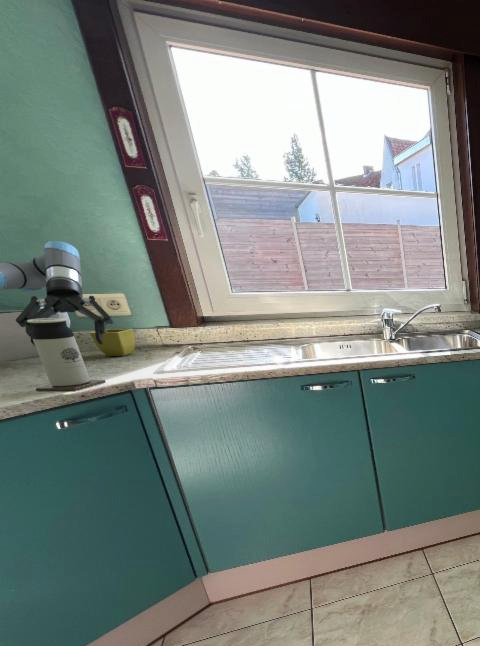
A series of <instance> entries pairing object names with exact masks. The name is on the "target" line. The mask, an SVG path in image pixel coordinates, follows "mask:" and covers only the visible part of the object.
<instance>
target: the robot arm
mask: <svg viewBox="0 0 480 646" xmlns="http://www.w3.org/2000/svg"><path fill="white" fill-rule="evenodd" d="M43 247H44V248H43V253H42V254H39V255H37V256H35V257H34V258H32V259H29V260H27V261H13V262H12V261H11V262H10V261H9V262H5V261H4V262H1V261H0V291H3V290H4V291H5V290H6V291H7V290H19V291H23V292H25V293H34V292H36V291H40V290H44V289H45V290H46V291H45V292H46V297H45V298H38V297H37V296H34V295H33V296H31V297H30V301H29V303H28V304H27V305H26V307H25V308H24V309H23V310H22V311H21V313H20V314H19V315H18V316H17V317H16V319H15V322H16V323H17V325H18V326H19V327H21V328H25V333H26V334H27V336H28V337H29V338H30V343H31V344H32V345H33V346H34V347H35V348H36V346H35V344H34V341H33V339H32V336H31V334H30V332H31V329H32V327H31V325H30V324H29V322H27V320H31V319H40V318H49V317H50V316H51V315H55V314H56V313H58V312H60V313H65V312H67V313H76V312H78V313H80V314H82V315H84V316H86V317H87V318H89V319H90V320H92V321H93V322H94V323H93V324H94V332H95V335H96V340H97V341H98V342H99V344H103V339H102V334H103V333H106V329H107V325H113V324H114V323H115V322H114V320H113V319H112V317H111V316H110V314H109V313H107V311H106V310H104V308H103V307H102V306H100V304H99V302H98V300H97V299H96V297H95V296H94V295H89V296H88V297H84V296H83V294H84V293H83V285H82V271H81V270H82V268H81V261H82V259H81V257H80V253H79V251H78V249H77V248H76V247H75V246H74V245H71V244H70V243H67V242H65V241H60V240H50V241H47V242H46V243H45V244H44V246H43ZM86 304H88V305H89V306H91V307H93V309H94V310H95V311H96V312H97V313H98V314H99V315H100V316H99V315H97V313H95V312H93V311H91V310H90V309H88V308H87V307H85V305H86ZM40 307H44V308H42V309H41V310H40V311H39V309H40ZM52 308H53V309H52Z"/></svg>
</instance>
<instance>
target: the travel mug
mask: <svg viewBox="0 0 480 646" xmlns="http://www.w3.org/2000/svg"><path fill="white" fill-rule="evenodd" d="M66 320H67V319H66V318H40V319H31V320H27V322H29V324H30V325H31V327H32V329H31V332H30V334H31V336H32V339H33V341H34V344H35V346H36V347H35V346H34V347H35V348H36V351H37V353H38V356H39V358H40V361H41V364H42V366H43V369H44V371H45V373H46V376H47V378H48V381H49V383H50V384H51V385H53V386H57V387H64V386H75V385H81V384H85V383H87V382H89V381H90V380H91V379H90V375H89V372H88V370H87V367H86V364H85V362H84V359H83V356H82V354H81V351H80V348H79V346H78V342H77V340H76V337H75V333H74V332H73V330H72V329H71V327H70V328H69V327H68V326H67V324H66ZM31 336H30V337H31ZM50 384H49V385H50Z"/></svg>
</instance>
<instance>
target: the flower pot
mask: <svg viewBox="0 0 480 646" xmlns="http://www.w3.org/2000/svg"><path fill="white" fill-rule="evenodd" d="M89 335H90V336H91V338H92V340H93V342H94V344H95V345H96V347H97V348H98V349H99V351H101V352H102V353H103V354H104V355H106V356H107V357H124V356H128V355H132V354H133V353H134V350H135V347H136V338H135V333H134V329H133V328H106V333H103V334H102V339H103V344H99V342H98V341H97V340H96V335H95V331H91V332H89Z"/></svg>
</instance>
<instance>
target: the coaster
mask: <svg viewBox="0 0 480 646" xmlns="http://www.w3.org/2000/svg"><path fill="white" fill-rule="evenodd" d="M101 383H102V384H104V383H106V380H105V379H90V381H89V382H87V383H85V384H81V385H75V386H64V387H57V386H53V385H51V384H46V385H43V386H39V387H36V388H35V391H36V392H77V391H80V389H81V390H84V389H87V387H88V388H91V387H94V386H93V385H95V386H98V385H102V384H101ZM97 384H98V385H97ZM90 386H91V387H90ZM83 388H84V389H83ZM76 390H77V391H76Z"/></svg>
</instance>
